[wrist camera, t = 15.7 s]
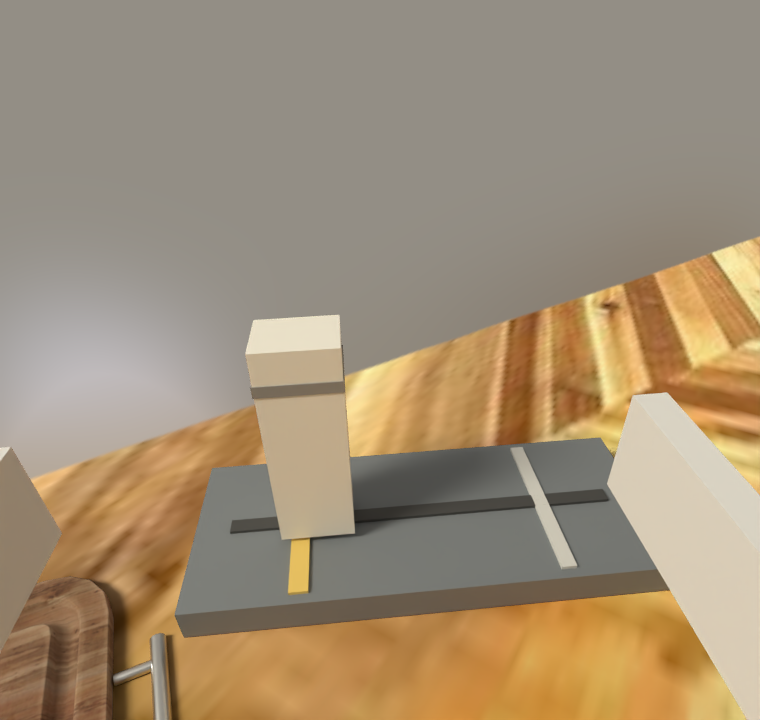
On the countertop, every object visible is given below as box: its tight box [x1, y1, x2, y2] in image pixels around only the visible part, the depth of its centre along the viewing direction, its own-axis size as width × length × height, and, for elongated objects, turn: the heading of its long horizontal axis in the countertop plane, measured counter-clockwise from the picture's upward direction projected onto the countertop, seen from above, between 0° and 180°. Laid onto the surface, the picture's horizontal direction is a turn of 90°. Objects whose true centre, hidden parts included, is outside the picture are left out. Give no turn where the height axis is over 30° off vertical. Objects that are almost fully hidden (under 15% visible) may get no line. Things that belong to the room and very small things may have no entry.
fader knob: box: [245, 315, 355, 540], centre depth 26 cm, size 4×3×12 cm
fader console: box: [175, 438, 670, 637], centre depth 31 cm, size 26×10×2 cm, turn 95°
